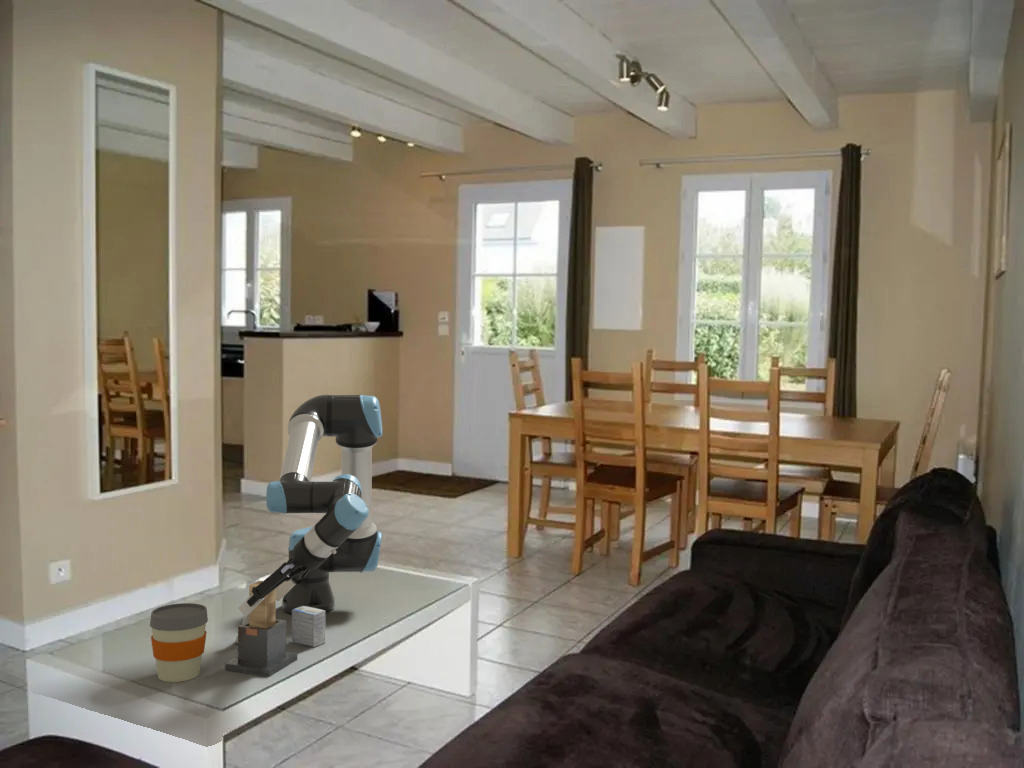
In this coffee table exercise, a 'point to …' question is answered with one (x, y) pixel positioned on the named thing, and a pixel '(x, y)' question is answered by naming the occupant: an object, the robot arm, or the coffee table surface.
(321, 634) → the medicine box
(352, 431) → the robot arm
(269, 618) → the oak block
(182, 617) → the reusable coffee cup
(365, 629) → the coffee table surface
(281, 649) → the metal stand
